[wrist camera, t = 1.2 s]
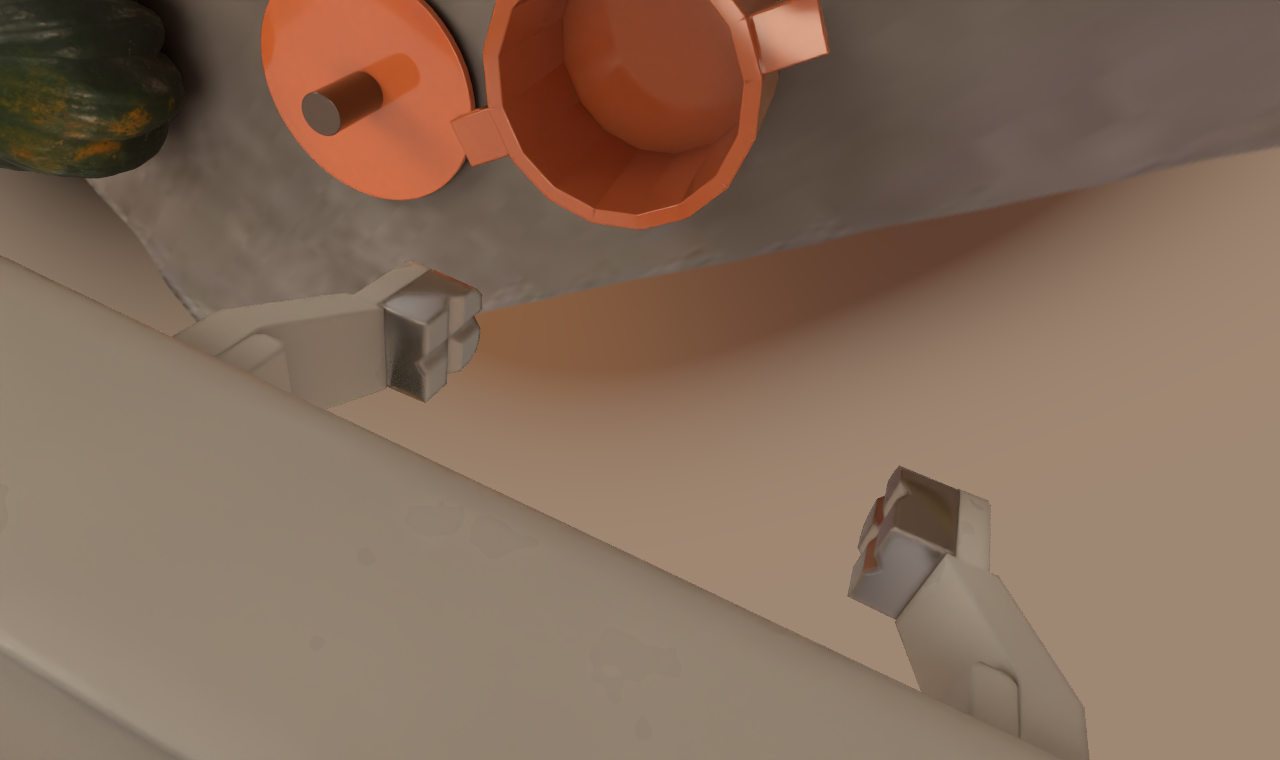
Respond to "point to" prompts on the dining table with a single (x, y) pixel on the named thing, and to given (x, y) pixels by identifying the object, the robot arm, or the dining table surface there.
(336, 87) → the lid
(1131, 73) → the dining table surface
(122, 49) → the squash
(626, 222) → the pot
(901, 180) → the dining table surface
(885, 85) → the dining table surface
